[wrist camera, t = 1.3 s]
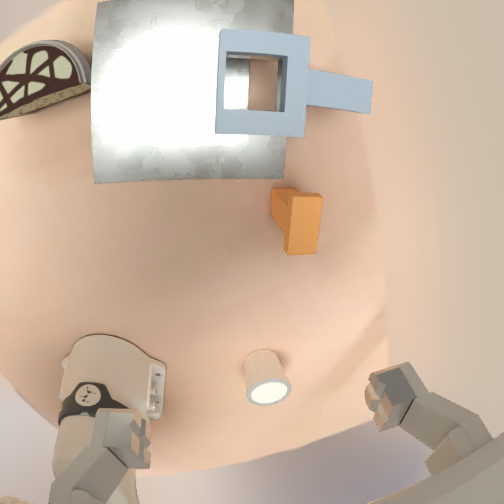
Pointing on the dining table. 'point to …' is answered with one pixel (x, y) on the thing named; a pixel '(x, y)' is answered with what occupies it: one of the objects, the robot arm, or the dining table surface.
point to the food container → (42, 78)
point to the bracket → (285, 85)
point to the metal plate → (177, 90)
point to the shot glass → (265, 378)
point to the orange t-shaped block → (297, 219)
